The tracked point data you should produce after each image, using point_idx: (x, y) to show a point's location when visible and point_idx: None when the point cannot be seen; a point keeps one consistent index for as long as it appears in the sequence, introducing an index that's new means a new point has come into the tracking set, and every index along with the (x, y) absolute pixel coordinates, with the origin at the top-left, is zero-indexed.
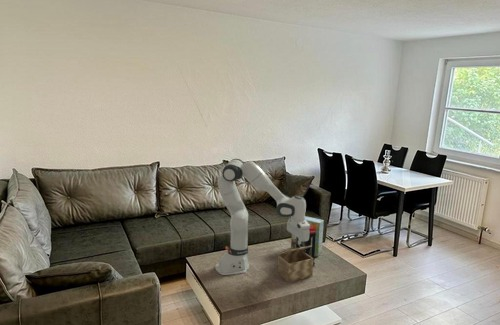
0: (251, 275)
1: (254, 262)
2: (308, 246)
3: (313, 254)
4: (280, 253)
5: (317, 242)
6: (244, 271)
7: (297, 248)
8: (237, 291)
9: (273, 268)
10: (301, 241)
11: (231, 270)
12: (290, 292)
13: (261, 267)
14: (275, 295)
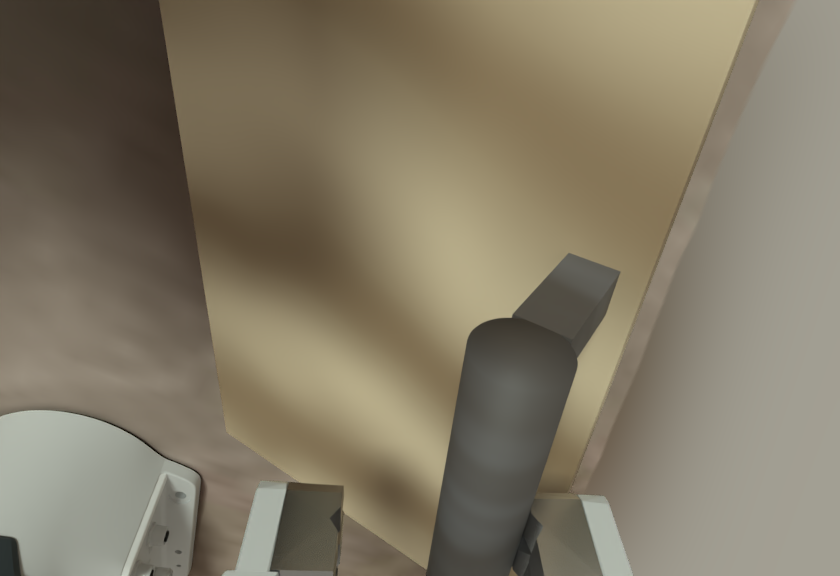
0: (254, 454)
1: (10, 347)
2: (697, 152)
3: None
4: (287, 467)
5: None
6: (195, 489)
7: (571, 482)
8: (409, 570)
9: (190, 257)
10: (538, 459)
11: (160, 548)
12: (639, 351)
13: (136, 341)
14: (590, 445)
